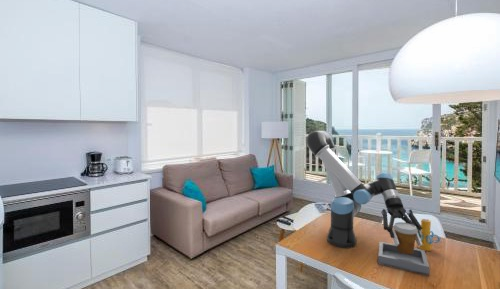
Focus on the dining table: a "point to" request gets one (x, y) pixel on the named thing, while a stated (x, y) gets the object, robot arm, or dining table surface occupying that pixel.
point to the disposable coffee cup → (405, 237)
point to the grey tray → (403, 259)
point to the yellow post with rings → (426, 235)
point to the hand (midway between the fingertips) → (408, 245)
